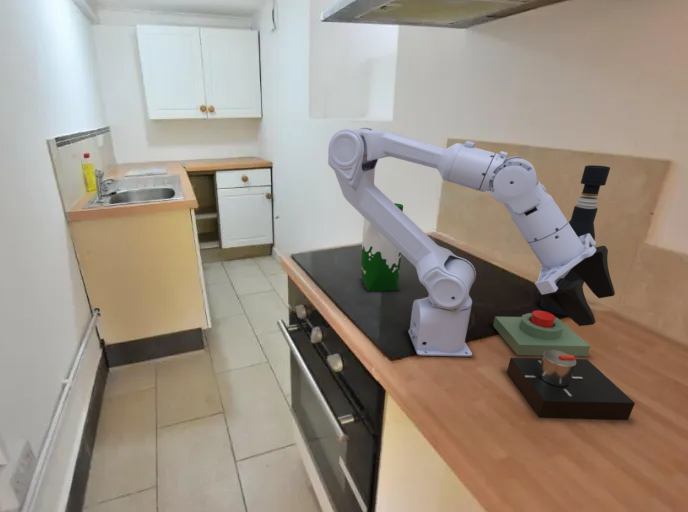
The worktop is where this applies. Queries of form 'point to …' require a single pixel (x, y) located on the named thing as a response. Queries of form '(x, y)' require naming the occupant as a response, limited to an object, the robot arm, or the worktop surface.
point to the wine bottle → (583, 216)
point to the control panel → (570, 392)
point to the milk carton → (379, 260)
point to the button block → (539, 337)
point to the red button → (542, 319)
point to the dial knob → (557, 367)
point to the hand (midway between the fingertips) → (597, 309)
